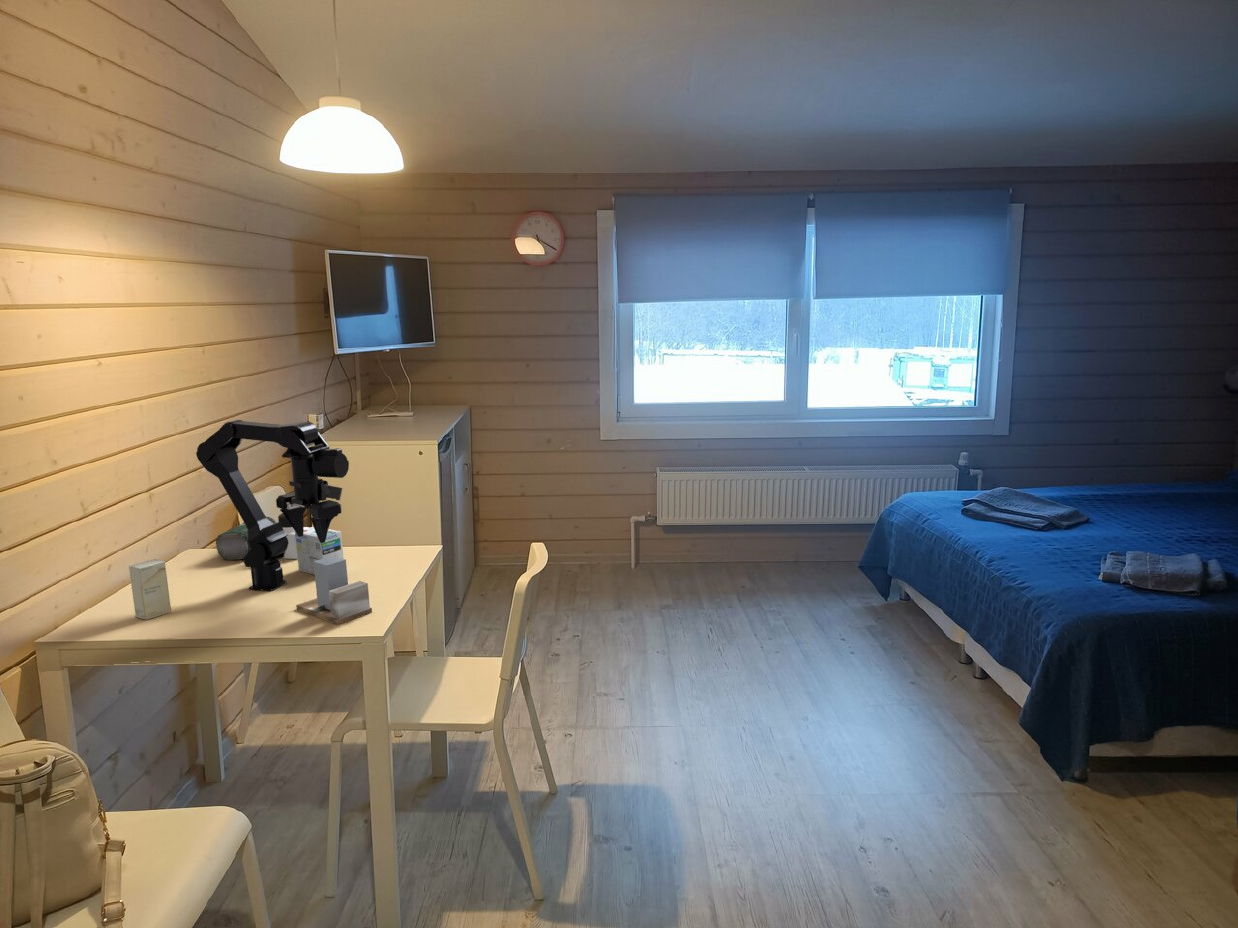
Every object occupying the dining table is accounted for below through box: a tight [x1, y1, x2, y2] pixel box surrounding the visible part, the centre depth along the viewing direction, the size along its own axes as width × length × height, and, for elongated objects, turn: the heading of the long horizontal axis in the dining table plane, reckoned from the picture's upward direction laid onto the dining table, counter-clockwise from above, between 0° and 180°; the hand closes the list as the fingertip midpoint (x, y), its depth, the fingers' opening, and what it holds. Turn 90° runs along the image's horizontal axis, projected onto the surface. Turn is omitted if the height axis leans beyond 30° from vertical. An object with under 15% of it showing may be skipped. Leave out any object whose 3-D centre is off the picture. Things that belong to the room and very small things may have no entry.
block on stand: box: [295, 580, 373, 626], centre depth 196 cm, size 16×9×7 cm, turn 52°
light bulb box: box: [295, 526, 345, 576], centre depth 224 cm, size 11×7×11 cm, turn 58°
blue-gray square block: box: [314, 556, 349, 610], centre depth 195 cm, size 6×6×10 cm
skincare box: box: [128, 558, 172, 621], centre depth 196 cm, size 6×4×12 cm
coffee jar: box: [215, 516, 276, 561], centre depth 243 cm, size 10×8×19 cm
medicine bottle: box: [277, 512, 310, 560], centre depth 237 cm, size 7×7×12 cm
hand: (311, 539), depth 207 cm, fingers open, 9 cm apart
